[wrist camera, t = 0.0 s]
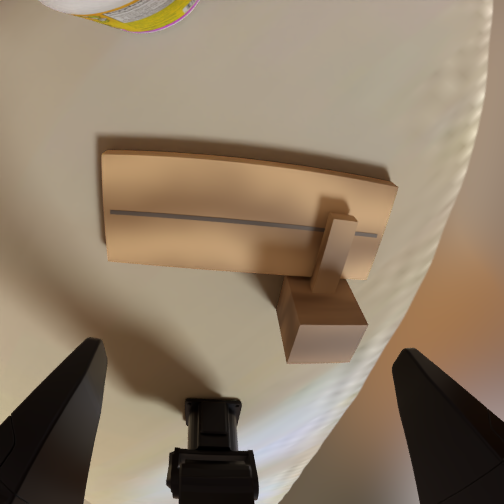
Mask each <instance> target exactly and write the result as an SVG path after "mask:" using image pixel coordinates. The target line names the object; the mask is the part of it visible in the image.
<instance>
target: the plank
mask: <svg viewBox="0 0 504 504" xmlns="http://www.w3.org/2000/svg"><path fill="white" fill-rule="evenodd" d="M397 190H398V187H397V186H396V185H395V184H393V183H392V182H391V181H386V180H381V179H376V178H371V177H366V176H360V175H355V174H350V173H344V172H338V171H332V170H326V169H320V168H314V167H307V166H300V165H294V164H286V163H279V162H271V161H263V160H255V159H246V158H236V157H226V156H216V155H204V154H191V153H177V152H159V151H136V150H107V151H105V152H104V153H103V154H102V191H103V209H104V223H105V235H106V245H107V255H108V261H111V262H122V263H133V264H144V265H156V266H168V267H180V268H193V269H205V270H218V271H232V272H246V273H260V274H275V275H290V276H306V277H312V274H313V270H314V267H315V263H316V260H317V256H318V253H319V249H320V245H321V242H322V238H323V235H324V231H325V227H326V223H327V220H328V216H329V212H330V213H337V214H345V215H352V216H354V217H355V218H356V220H357V221H358V225H357V228H356V232H355V235H354V238H353V241H352V244H351V247H350V250H349V253H348V257H347V260H346V263H345V265H344V268H343V271H342V274H341V277H340V279H357V280H367V277H368V275H369V272H370V269H371V267H372V264H373V261H374V259H375V256H376V253H377V251H378V248H379V245H380V242H381V239H382V236H383V234H384V231H385V228H386V225H387V222H388V219H389V216H390V213H391V210H392V207H393V203H394V200H395V197H396V194H397Z"/></svg>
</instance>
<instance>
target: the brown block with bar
mask: <svg viewBox="0 0 504 504" xmlns="http://www.w3.org/2000/svg"><path fill="white" fill-rule="evenodd" d="M357 225H358V221H357V220H356V218H355V217H354V216H352V215H345V214H337V213H330V212H329V216H328V220H327V223H326V227H325V231H324V235H323V238H322V242H321V245H320V249H319V253H318V256H317V260H316V263H315V267H314V270H313V274H312V277H306V276H290V275H285V276H284V280H283V284H282V288H281V292H280V296H279V300H278V304H277V308H276V311H277V316H278V321H279V326H280V331H281V336H282V341H283V346H284V351H285V356H286V362H287V364H311V363H343V362H350V360H351V358H352V356H353V354H354V353H355V351H356V349H357V347H358V345H359V343H360V341H361V339H362V337H363V335H364V333H365V331H366V329H367V327H368V323H367V321H366V319H365V317H364V315H363V313H362V311H361V309H360V307H359V305H358V303H357V301H356V299H355V297H354V295H353V293H352V291H351V289H350V287H349V285H348V283H347V281H346V279H340V277H341V274H342V271H343V268H344V265H345V263H346V260H347V257H348V253H349V250H350V247H351V244H352V241H353V238H354V235H355V232H356V228H357Z"/></svg>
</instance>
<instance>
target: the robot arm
mask: <svg viewBox="0 0 504 504" xmlns="http://www.w3.org/2000/svg"><path fill="white" fill-rule="evenodd" d="M106 370H107V356H106V352H105V348H104V344H103V341H102V340H101V339H98V338H92V337H89V338H87V339H85V340H84V341H83V342H82V343H81V344H80V345H79V346H78V347H77V348H76V349H75V350H74V351H73V352H72V353H71V354H70V355H69V356H68V357H67V358H66V359H65V360H64V361H63V362H62V363H61V364H60V365H59V366H58V367H57V368H56V369H55V370H54V371H53V372H52V373H51V374H50V375H49V376H48V377H47V378H46V379H45V380H44V381H43V382H42V383H41V384H40V385H39V386H38V387H37V388H36V389H35V390H34V391H33V392H32V393H31V394H30V395H29V396H28V397H27V398H26V399H25V400H24V401H23V402H22V403H21V404H20V405H19V406H18V407H17V408H16V409H15V410H14V411H13V412H12V413H11V416H8V417H7V419H6V420H5V421H4V422H3V423H2V424H1V425H0V504H83V502H84V496H85V490H86V483H87V478H88V472H89V467H90V461H91V456H92V451H93V446H94V441H95V437H96V432H97V428H98V423H99V419H100V414H101V408H102V400H103V392H104V385H105V377H106ZM392 374H393V380H394V385H395V391H396V397H397V403H398V408H399V413H400V417H401V421H402V425H403V428H404V433H405V437H406V440H407V445H408V449H409V453H410V458H411V462H412V466H413V471H414V476H415V481H416V485H417V490H418V495H419V501H420V504H504V422H503V421H502V420H501V419H499V418H498V417H497V416H496V415H495V414H493V413H492V412H491V411H490V410H489V409H487V408H486V407H485V406H484V405H483V404H482V403H480V402H479V401H478V400H477V399H476V398H475V397H473V396H472V395H471V394H470V393H469V392H468V391H466V390H465V389H464V388H463V387H462V386H460V385H459V384H458V383H457V382H456V381H454V380H453V379H452V378H451V377H450V376H448V375H447V374H446V373H445V372H443V371H442V370H441V369H440V368H439V367H438V366H436V365H435V364H434V363H433V362H431V361H430V360H429V359H428V358H427V357H425V356H424V355H423V354H422V353H420V352H419V351H418V350H417V349H415V348H405V349H403V350H402V351H401V353H400V354H399V356H398V357H397V359H396V361H395V362H394V364H393V367H392ZM241 407H242V403H241V402H240V401H222V400H202V399H186V400H185V414H186V425H187V426H188V449H180V448H176V447H175V451H174V452H171V453H170V454H169V467H168V473H167V480H166V485H167V486H168V487H169V488H170V489H171V492H172V494H173V498H175V499H179V504H254V500H257V499H258V494H259V482H258V475H257V470H256V465H255V460H254V454H253V450H248V451H238V440H237V424H238V420H239V415H240V411H241Z"/></svg>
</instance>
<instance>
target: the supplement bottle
mask: <svg viewBox="0 0 504 504" xmlns="http://www.w3.org/2000/svg"><path fill="white" fill-rule="evenodd" d="M38 1H40V2H41V3H42V4H44V5H45V6H47V7H49V8H51V9H53V10H56V11H60V12H63V13H67V14H71V15H74V16H78V17H82V18H85V19H89V20H92V21H95V22H99V23H102V24H105V25H108V26H111V27H114V28H117V29H120V30H123V31H127V32H131V33H152V32H157V31H160V30H164V29H166V28H169V27H171V26H173V25H174V24H176V23H178V22H180V21H181V20H182V19H184V18H185V17H186V16H187V15H189V14H190V13H191V12H192V11H193V9H194V8H195V7H196V6H197V4H198V3H199V1H200V0H38Z"/></svg>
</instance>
